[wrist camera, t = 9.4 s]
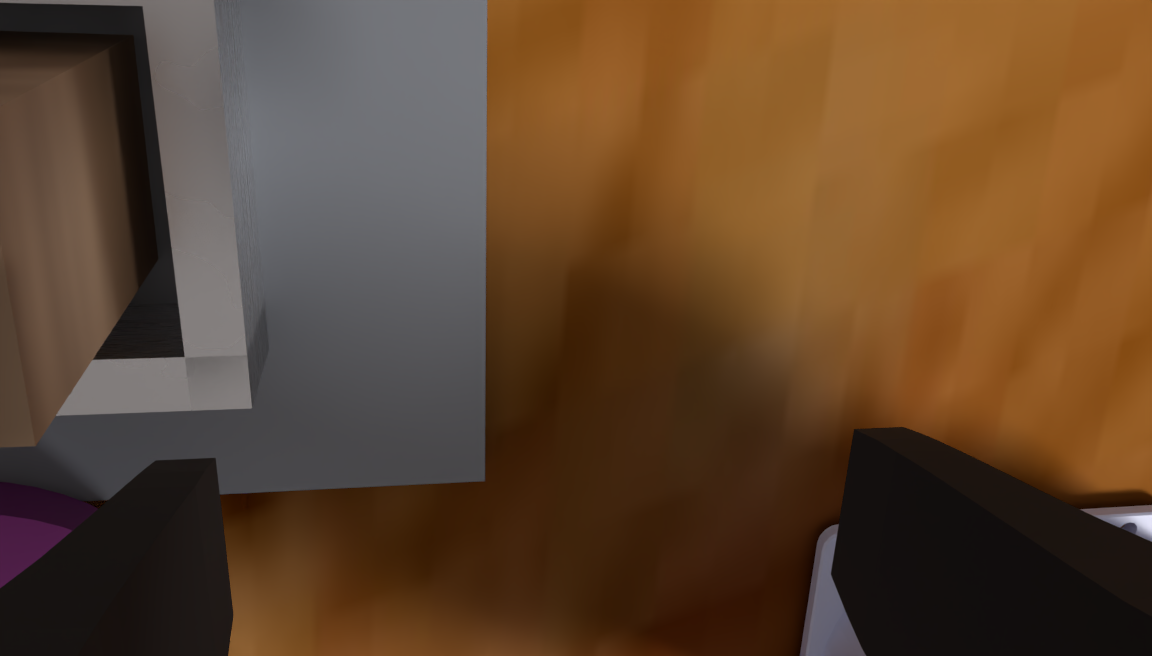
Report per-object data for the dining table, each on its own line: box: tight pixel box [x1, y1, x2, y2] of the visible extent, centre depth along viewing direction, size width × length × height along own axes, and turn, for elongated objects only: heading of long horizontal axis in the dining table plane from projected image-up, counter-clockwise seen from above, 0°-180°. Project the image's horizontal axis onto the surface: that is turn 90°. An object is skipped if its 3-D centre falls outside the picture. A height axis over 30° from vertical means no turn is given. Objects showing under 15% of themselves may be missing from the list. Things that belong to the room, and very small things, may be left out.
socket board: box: [0, 0, 487, 501], centre depth 17 cm, size 16×14×3 cm
